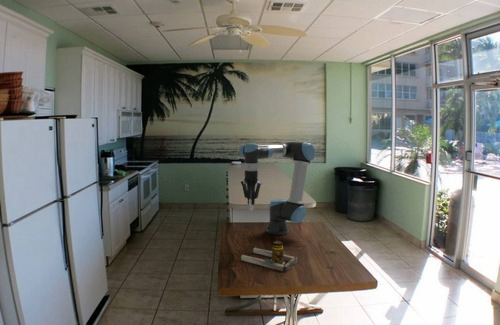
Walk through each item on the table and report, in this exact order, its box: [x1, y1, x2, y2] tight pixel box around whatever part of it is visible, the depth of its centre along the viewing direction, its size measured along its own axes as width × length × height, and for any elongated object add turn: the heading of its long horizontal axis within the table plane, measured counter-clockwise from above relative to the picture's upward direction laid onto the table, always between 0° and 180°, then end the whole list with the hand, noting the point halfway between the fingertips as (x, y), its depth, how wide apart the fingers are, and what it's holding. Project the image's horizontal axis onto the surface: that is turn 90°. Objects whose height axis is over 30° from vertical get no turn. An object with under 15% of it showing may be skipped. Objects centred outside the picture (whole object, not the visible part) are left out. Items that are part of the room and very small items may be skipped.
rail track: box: [240, 247, 298, 273], centre depth 176 cm, size 15×27×3 cm, turn 59°
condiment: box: [270, 240, 286, 265], centre depth 173 cm, size 7×8×12 cm
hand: (251, 209), depth 186 cm, fingers closed
